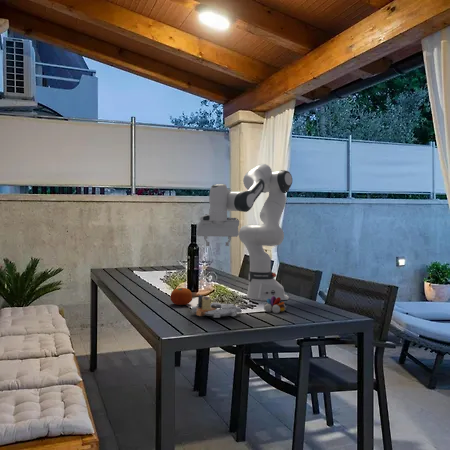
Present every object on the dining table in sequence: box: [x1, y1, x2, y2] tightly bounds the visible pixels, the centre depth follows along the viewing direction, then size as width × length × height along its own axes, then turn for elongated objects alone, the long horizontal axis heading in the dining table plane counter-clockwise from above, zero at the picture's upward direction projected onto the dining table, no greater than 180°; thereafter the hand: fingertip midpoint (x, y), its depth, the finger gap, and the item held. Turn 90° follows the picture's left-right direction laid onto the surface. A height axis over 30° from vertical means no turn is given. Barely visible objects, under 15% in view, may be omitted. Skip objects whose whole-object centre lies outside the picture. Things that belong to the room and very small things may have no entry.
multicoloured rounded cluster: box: [263, 296, 287, 314], centre depth 222 cm, size 8×10×7 cm
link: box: [202, 295, 212, 310], centre depth 207 cm, size 4×6×5 cm, turn 6°
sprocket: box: [191, 294, 242, 318], centre depth 212 cm, size 22×22×7 cm
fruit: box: [170, 287, 193, 306], centre depth 233 cm, size 11×10×8 cm
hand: (217, 245), depth 232 cm, fingers open, 8 cm apart
